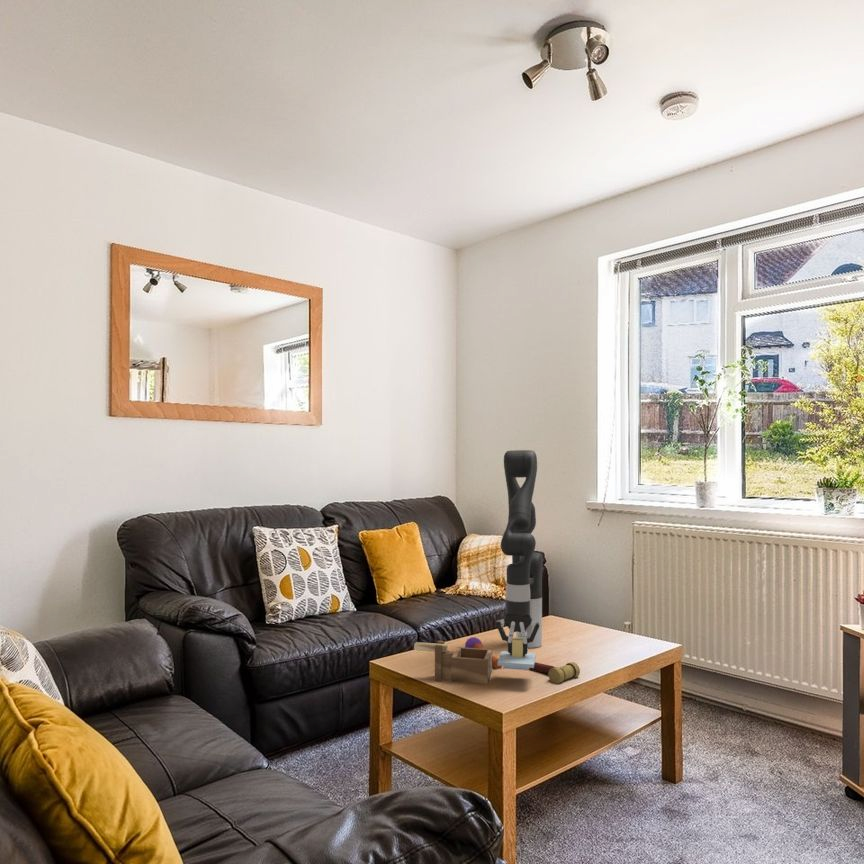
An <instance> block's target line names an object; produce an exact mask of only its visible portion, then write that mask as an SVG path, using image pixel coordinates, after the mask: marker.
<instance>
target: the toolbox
mask: <svg viewBox="0 0 864 864" xmlns="http://www.w3.org/2000/svg"><path fill="white" fill-rule="evenodd" d="M439 644H445V641H444V640H437V643H436V644H435V652H434V681H435V682H436V681H437V682H442V681H451V682H456V683H457V682H458V683H466V684H467V683H470V684H481V685H482V684H483V685H488V683H489V682H490V678H491V676H492V673H493V665H492V656H493V649H492V648H484V649H480V648H465V646H464V647H463V646H457V648H456V649H455V651H454V650H447V652H442V645H439Z"/></svg>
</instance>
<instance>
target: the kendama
mask: <svg viewBox="0 0 864 864" xmlns="http://www.w3.org/2000/svg"><path fill="white" fill-rule="evenodd" d="M464 647H465V648H480V649H485V647H484V645H483V643H482V641H481V640H480V638H479V637H475V636H473V637H472V636H471V637H470V638H468V639H466V641H465V643H464ZM498 659H499V657H496V656H494V655H492V667H494V668H495V669H496V670H497V669H503V666H498Z"/></svg>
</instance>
